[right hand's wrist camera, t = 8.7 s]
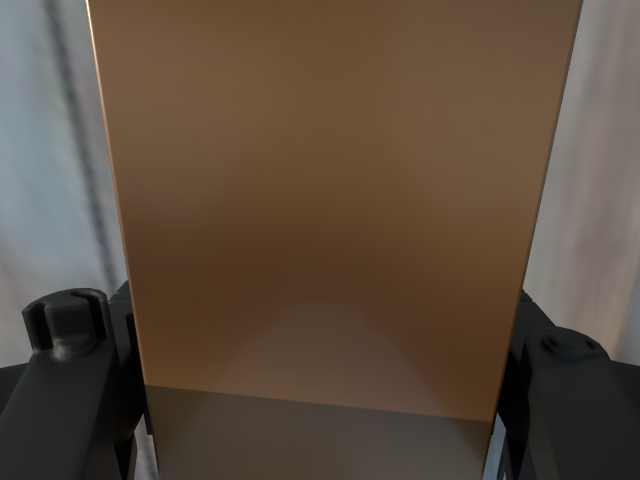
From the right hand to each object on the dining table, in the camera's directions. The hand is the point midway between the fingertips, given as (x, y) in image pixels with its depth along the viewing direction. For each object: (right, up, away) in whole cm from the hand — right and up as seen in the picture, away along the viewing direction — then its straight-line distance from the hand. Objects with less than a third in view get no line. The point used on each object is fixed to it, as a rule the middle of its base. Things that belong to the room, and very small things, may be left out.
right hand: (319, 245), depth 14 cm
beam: (0, -15, +7) cm, 17 cm away
